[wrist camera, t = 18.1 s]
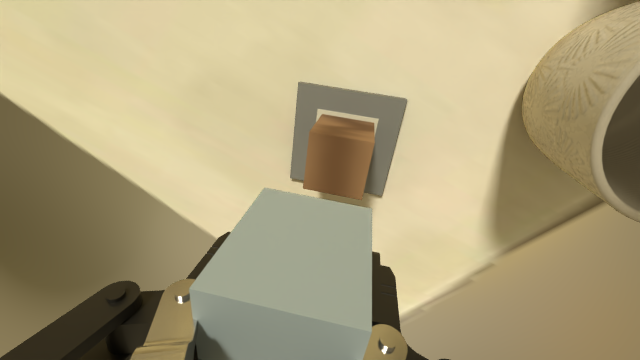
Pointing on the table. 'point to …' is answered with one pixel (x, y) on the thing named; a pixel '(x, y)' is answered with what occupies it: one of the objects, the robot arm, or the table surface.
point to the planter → (592, 107)
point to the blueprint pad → (353, 106)
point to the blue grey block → (288, 283)
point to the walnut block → (339, 156)
